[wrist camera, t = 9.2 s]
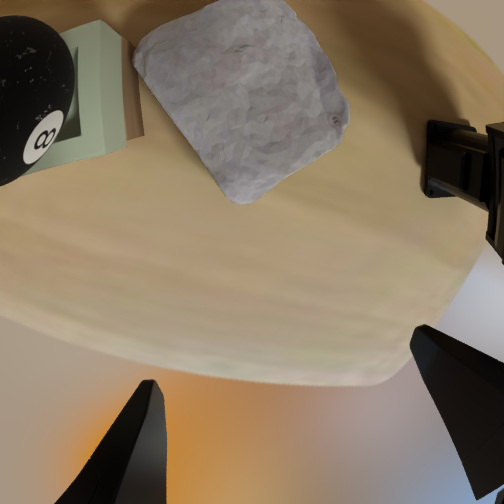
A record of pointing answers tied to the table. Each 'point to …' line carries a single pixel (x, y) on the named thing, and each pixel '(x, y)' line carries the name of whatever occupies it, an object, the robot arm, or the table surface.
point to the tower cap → (91, 98)
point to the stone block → (245, 91)
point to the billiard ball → (31, 92)
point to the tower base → (130, 92)
